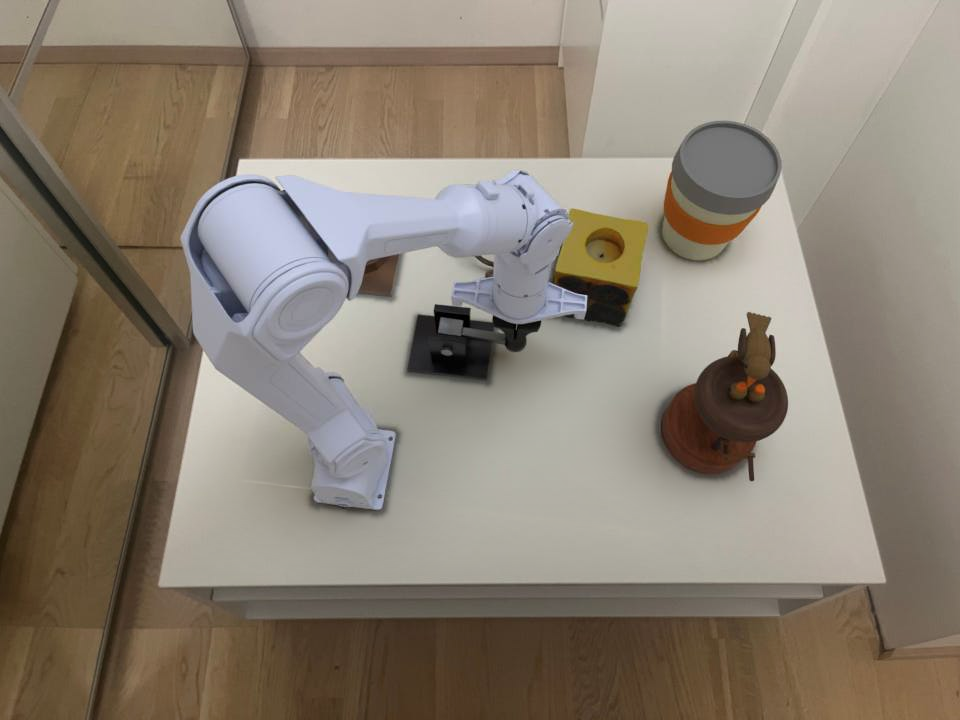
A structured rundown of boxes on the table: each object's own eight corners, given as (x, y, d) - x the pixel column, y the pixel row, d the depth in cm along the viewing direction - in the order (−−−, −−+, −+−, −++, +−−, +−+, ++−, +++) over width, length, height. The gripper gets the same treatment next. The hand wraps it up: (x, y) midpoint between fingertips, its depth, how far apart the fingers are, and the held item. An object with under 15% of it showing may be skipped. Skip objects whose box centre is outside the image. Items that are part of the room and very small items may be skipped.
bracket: (494, 326, 87) (495, 299, 81) (487, 382, 83) (487, 358, 77) (418, 317, 87) (413, 290, 81) (408, 373, 84) (402, 349, 78)
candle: (544, 314, 87) (551, 272, 78) (559, 252, 92) (567, 205, 83) (621, 330, 86) (638, 290, 77) (632, 266, 91) (649, 221, 82)
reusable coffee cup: (651, 269, 90) (681, 197, 77) (646, 195, 96) (674, 116, 82) (744, 273, 90) (791, 202, 77) (734, 199, 95) (776, 120, 82)
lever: (525, 337, 83) (529, 327, 80) (523, 357, 82) (527, 347, 79) (440, 324, 83) (441, 313, 80) (436, 344, 81) (437, 334, 79)
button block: (391, 298, 89) (389, 286, 86) (318, 290, 89) (313, 278, 86) (407, 225, 94) (405, 211, 91) (337, 218, 94) (333, 204, 92)
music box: (648, 381, 83) (711, 298, 65) (732, 381, 84) (817, 299, 66) (668, 502, 77) (744, 448, 59) (759, 500, 78) (862, 446, 60)
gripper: (595, 248, 69) (578, 313, 81) (456, 234, 70) (460, 300, 82) (591, 307, 66) (574, 365, 78) (446, 291, 67) (452, 351, 79)
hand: (515, 335), depth 80 cm, fingers closed, pressing on lever
